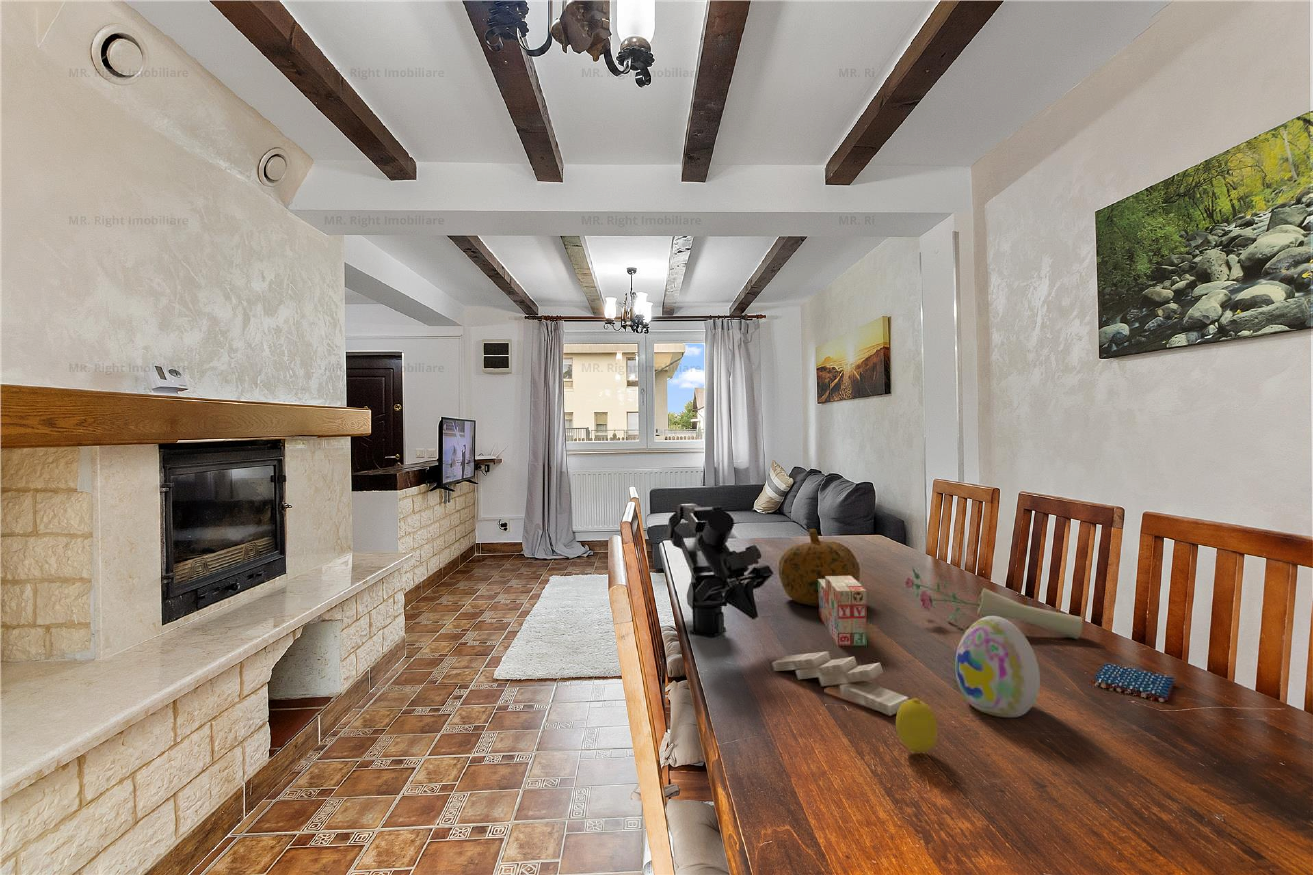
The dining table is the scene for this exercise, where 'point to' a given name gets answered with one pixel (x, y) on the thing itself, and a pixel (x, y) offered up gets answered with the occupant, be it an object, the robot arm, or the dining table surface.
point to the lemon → (916, 725)
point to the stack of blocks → (843, 609)
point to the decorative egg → (997, 668)
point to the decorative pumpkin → (814, 567)
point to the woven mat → (1134, 682)
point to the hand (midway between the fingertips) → (755, 618)
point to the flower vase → (1008, 610)
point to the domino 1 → (801, 661)
